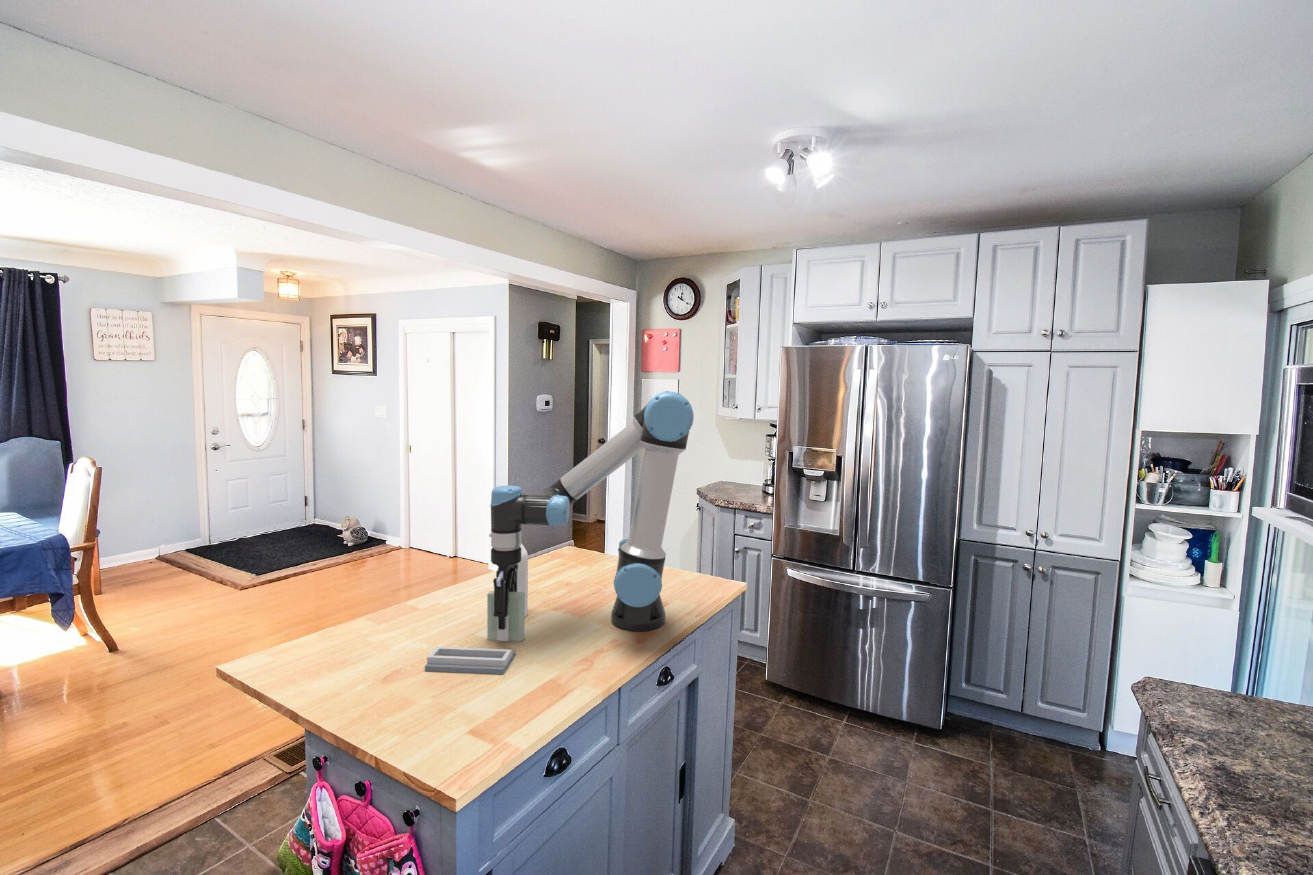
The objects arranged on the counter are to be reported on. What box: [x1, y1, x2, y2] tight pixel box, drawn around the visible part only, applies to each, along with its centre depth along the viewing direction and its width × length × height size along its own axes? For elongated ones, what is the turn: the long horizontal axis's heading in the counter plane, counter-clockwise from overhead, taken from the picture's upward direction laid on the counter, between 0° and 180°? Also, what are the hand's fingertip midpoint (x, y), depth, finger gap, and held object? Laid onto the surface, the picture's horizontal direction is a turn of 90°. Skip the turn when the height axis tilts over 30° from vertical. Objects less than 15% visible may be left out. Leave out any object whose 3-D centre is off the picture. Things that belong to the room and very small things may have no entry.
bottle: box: [517, 543, 529, 617], centre depth 169 cm, size 8×8×30 cm
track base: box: [424, 646, 517, 675], centre depth 140 cm, size 18×10×3 cm, turn 88°
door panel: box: [486, 590, 526, 642], centre depth 153 cm, size 9×2×12 cm, turn 88°
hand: (506, 635), depth 154 cm, fingers open, 5 cm apart
